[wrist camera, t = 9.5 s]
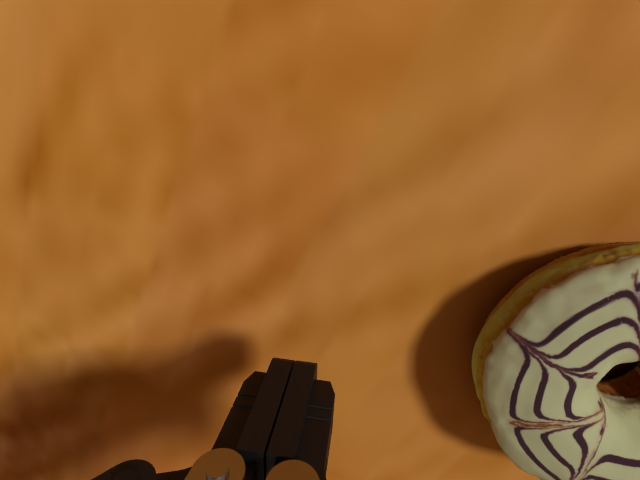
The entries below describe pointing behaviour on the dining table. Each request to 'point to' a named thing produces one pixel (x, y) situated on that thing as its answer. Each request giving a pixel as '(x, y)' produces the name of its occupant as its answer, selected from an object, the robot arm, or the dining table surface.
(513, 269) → the dining table surface
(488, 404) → the decorated donut
